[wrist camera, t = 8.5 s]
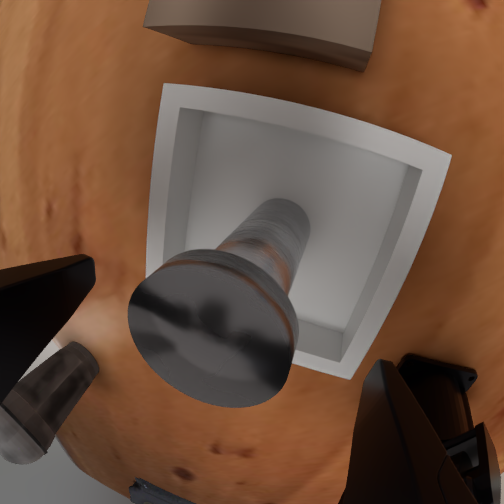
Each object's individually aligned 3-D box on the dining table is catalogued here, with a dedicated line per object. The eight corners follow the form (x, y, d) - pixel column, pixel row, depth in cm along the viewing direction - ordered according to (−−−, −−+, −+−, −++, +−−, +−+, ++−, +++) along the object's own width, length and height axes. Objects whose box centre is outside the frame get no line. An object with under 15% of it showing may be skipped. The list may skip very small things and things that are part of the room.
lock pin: (335, 199, 14) (315, 311, 6) (310, 278, 16) (265, 424, 8) (247, 173, 15) (125, 244, 7) (231, 252, 17) (132, 369, 9)
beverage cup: (118, 390, 29) (17, 519, 12) (75, 372, 31) (-21, 479, 14) (94, 339, 26) (-37, 479, 9) (52, 325, 28) (-65, 434, 11)
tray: (429, 147, 12) (452, 155, 9) (352, 339, 18) (350, 379, 15) (198, 87, 15) (163, 82, 11) (174, 279, 20) (145, 308, 17)
